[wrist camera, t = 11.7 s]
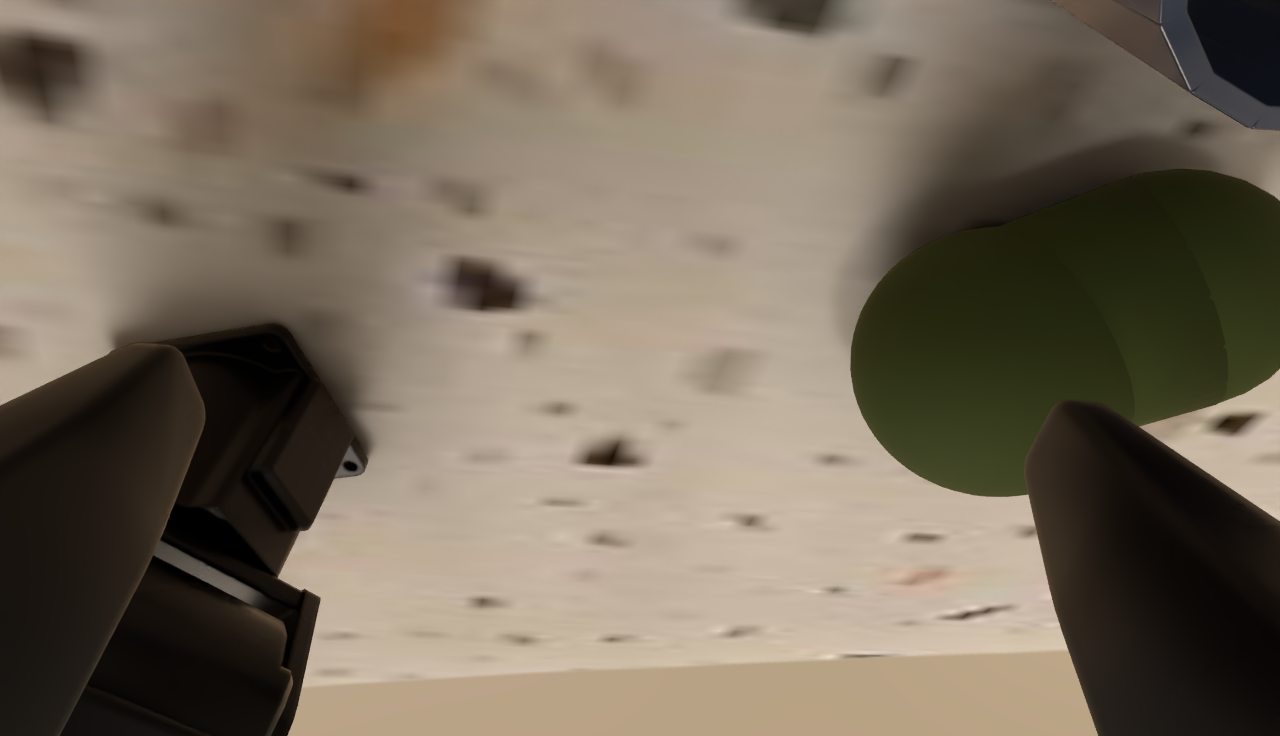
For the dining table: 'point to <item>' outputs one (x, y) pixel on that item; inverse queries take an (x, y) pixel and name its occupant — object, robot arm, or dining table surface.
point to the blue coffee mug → (1201, 48)
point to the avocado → (1070, 322)
